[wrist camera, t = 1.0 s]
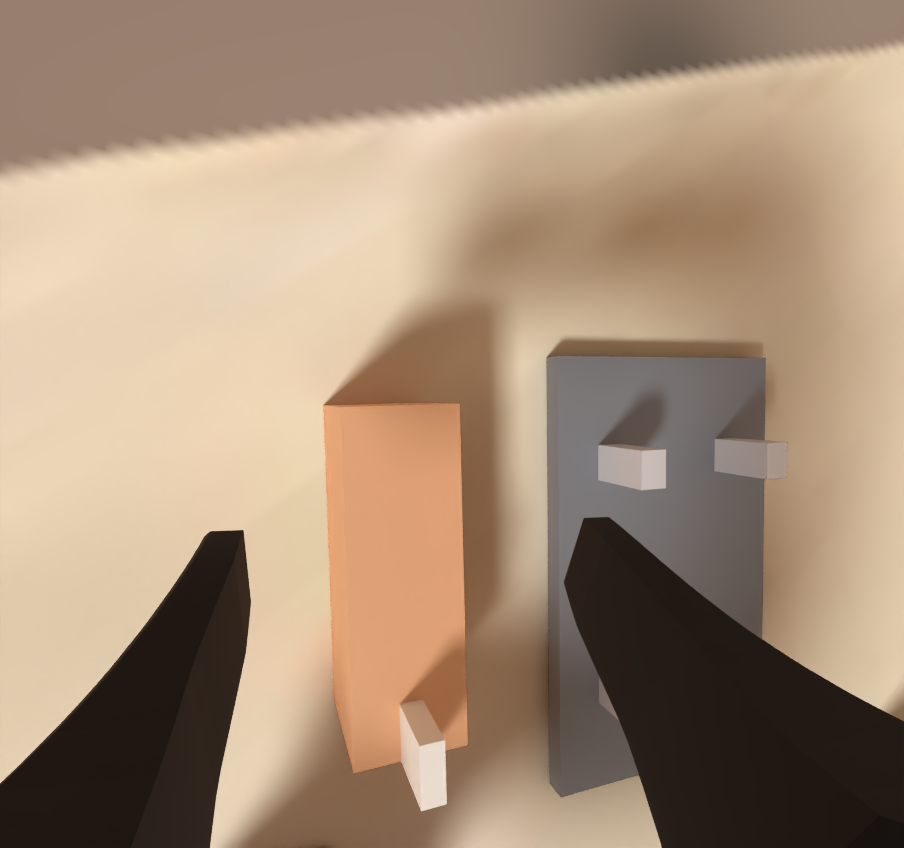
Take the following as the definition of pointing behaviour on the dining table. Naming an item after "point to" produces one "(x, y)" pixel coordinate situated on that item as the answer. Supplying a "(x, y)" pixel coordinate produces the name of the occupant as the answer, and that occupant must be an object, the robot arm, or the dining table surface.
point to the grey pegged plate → (649, 512)
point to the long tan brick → (397, 586)
